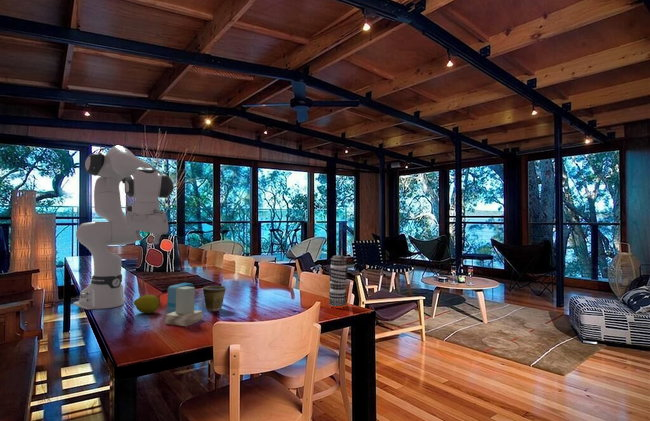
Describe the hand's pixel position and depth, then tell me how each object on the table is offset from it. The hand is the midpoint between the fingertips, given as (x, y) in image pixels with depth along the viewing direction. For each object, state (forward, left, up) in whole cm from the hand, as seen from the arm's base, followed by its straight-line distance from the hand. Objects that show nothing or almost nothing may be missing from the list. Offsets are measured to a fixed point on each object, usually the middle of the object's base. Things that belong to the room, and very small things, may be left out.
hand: (147, 242), depth 149 cm
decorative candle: (+60, +62, -32) cm, 92 cm away
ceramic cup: (+10, +29, -32) cm, 44 cm away
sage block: (+14, +7, -28) cm, 32 cm away
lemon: (-9, +9, -32) cm, 34 cm away
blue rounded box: (+1, +18, -32) cm, 37 cm away
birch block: (+14, +7, -32) cm, 36 cm away
